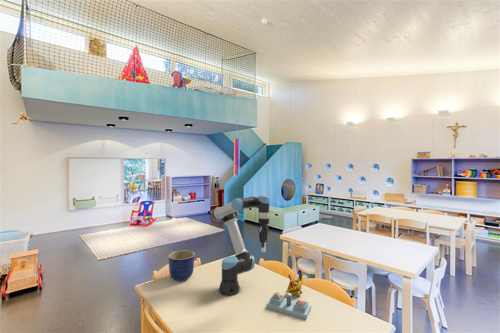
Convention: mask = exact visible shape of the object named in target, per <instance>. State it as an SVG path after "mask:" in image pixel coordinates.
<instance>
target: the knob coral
mask: <svg viewBox="0 0 500 333" xmlns="http://www.w3.org/2000/svg"><path fill="white" fill-rule="evenodd" d="M297 299H298V305H301V306H305V301H306V300H305V299H304V298H301V297H300V298H297Z"/></svg>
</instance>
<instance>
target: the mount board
mask: <svg viewBox="0 0 500 333" xmlns="http://www.w3.org/2000/svg"><path fill="white" fill-rule="evenodd" d="M298 299H299V298H297V299H296V300H293V299H291V306H287V297H285V295H282V294H281V299H280V300H278V299H274V293H273V294H272V295H271V297H270V299H269V300H268V302H267V303H266V308H267V309H269V310H274V311H277V312H280V313H282V314H283V313H284V314H286V315H290V316H293V317H298V318H300V319H304V320H307V319H308V317H309V314H310V312H311V309H312V305H311V304H309V301H307V300H305V306H301V305H298Z"/></svg>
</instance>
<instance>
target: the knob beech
mask: <svg viewBox="0 0 500 333" xmlns="http://www.w3.org/2000/svg"><path fill="white" fill-rule="evenodd" d="M273 294H274V299H278V300H280V299H281V295H282V294H281V293H280V292H276V291H275V292H274V293H273Z"/></svg>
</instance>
